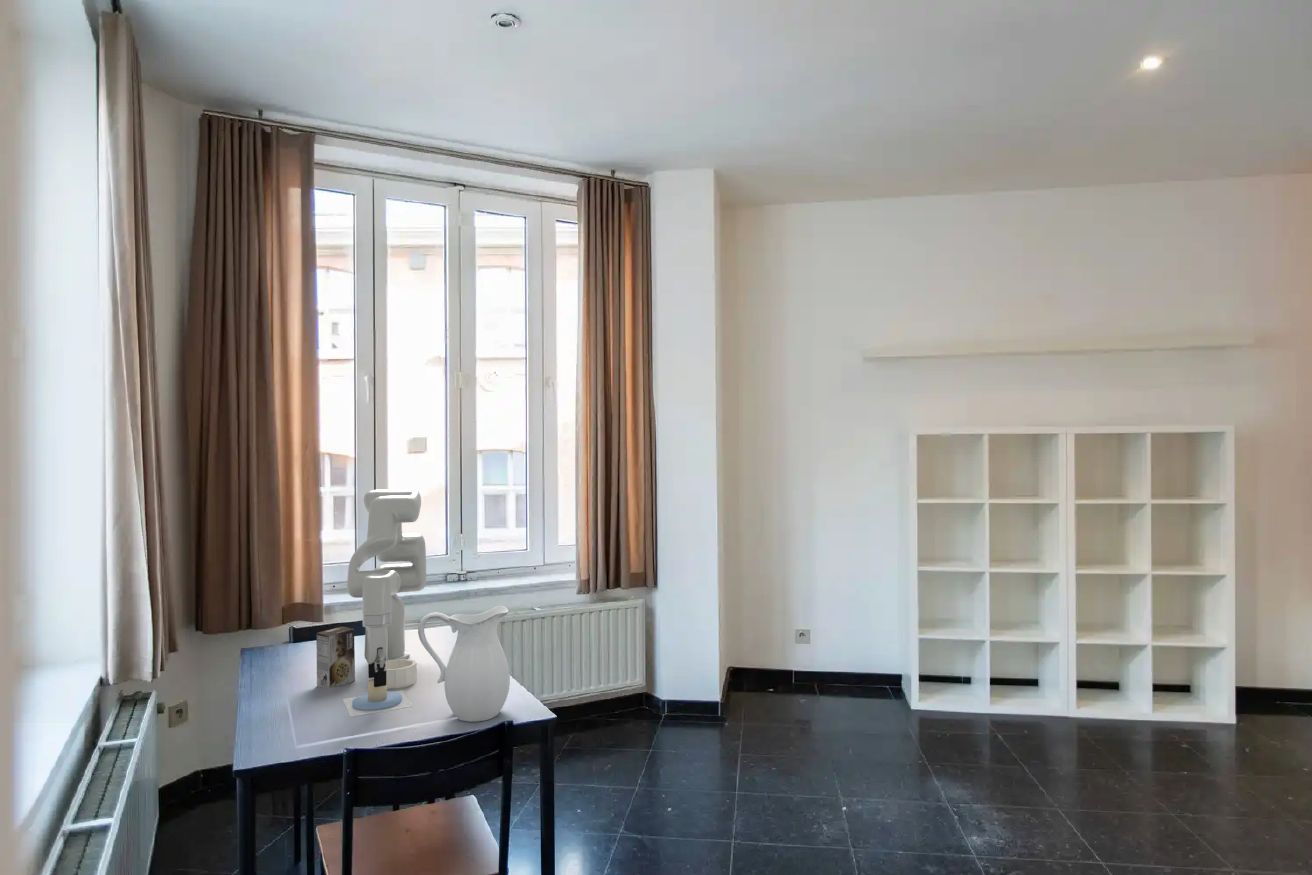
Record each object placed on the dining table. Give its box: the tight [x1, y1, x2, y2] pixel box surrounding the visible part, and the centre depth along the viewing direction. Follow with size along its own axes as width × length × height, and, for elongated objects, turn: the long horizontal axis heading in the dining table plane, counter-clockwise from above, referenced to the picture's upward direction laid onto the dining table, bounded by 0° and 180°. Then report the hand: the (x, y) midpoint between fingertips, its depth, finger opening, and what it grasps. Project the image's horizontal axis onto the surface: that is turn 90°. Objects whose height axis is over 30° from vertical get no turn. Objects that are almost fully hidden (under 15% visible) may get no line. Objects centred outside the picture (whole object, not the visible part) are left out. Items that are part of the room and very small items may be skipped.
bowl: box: [385, 658, 418, 689], centre depth 228 cm, size 11×11×6 cm
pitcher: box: [417, 605, 511, 723], centre depth 202 cm, size 24×17×28 cm
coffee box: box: [315, 626, 356, 689], centre depth 229 cm, size 9×6×16 cm
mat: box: [342, 689, 414, 718], centre depth 210 cm, size 16×16×1 cm
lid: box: [352, 678, 402, 711], centre depth 210 cm, size 13×13×6 cm
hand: (377, 681), depth 210 cm, fingers open, 9 cm apart
